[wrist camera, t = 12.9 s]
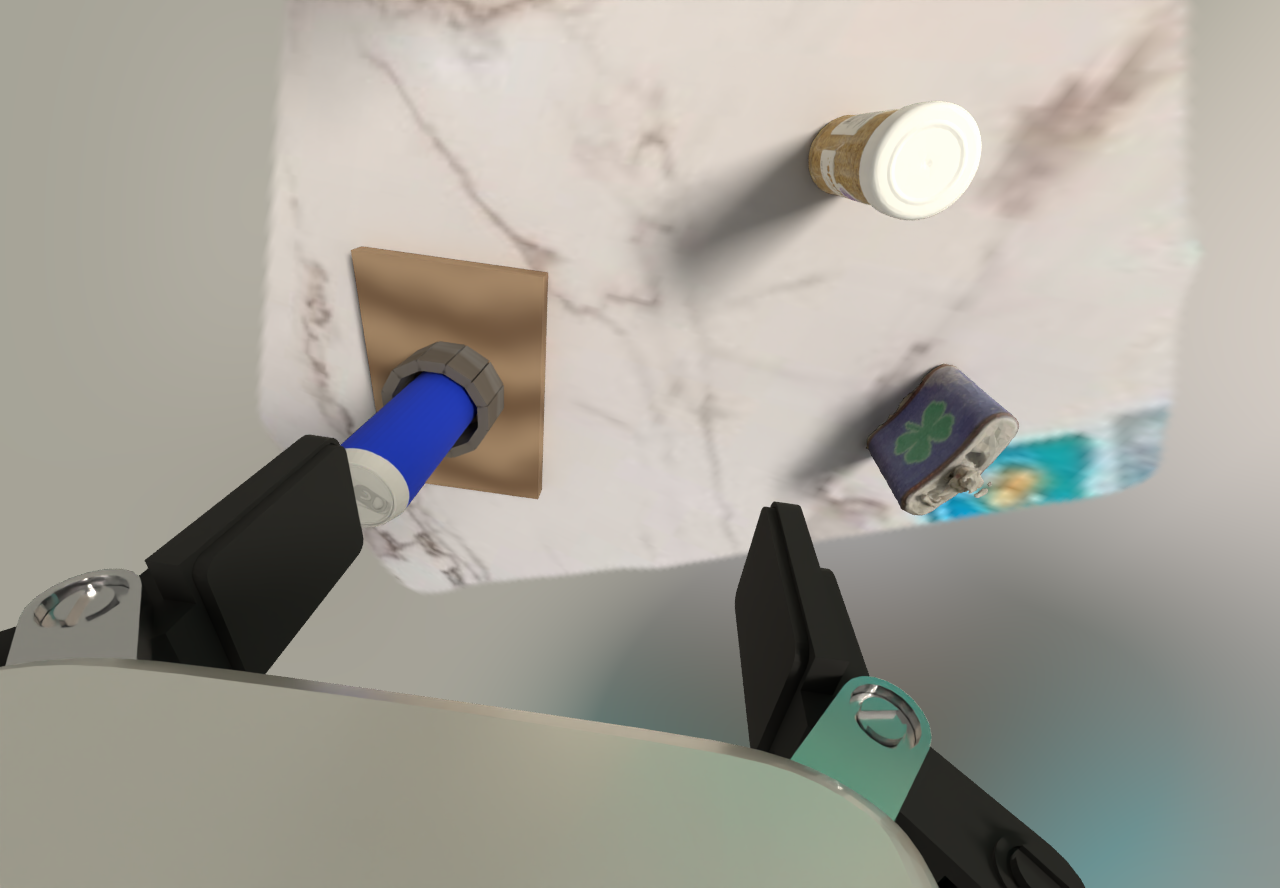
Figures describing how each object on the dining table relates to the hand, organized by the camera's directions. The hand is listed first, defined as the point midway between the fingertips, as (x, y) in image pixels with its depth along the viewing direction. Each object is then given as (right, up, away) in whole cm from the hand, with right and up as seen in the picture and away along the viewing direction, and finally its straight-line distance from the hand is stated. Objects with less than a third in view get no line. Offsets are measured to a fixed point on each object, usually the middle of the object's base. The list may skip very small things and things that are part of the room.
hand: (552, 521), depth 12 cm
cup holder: (-13, +7, +32) cm, 35 cm away
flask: (+24, +5, +31) cm, 39 cm away
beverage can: (-13, +6, +31) cm, 34 cm away
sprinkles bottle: (+15, +21, +22) cm, 34 cm away
